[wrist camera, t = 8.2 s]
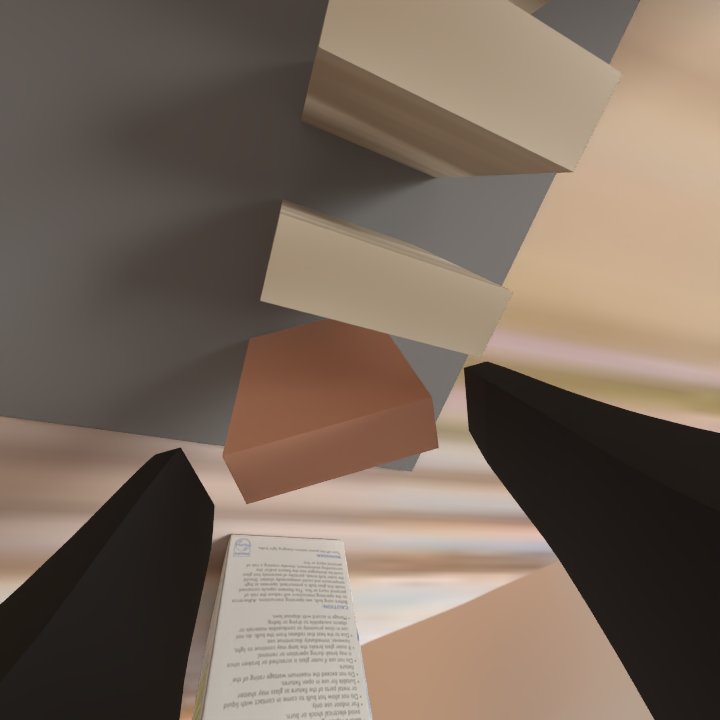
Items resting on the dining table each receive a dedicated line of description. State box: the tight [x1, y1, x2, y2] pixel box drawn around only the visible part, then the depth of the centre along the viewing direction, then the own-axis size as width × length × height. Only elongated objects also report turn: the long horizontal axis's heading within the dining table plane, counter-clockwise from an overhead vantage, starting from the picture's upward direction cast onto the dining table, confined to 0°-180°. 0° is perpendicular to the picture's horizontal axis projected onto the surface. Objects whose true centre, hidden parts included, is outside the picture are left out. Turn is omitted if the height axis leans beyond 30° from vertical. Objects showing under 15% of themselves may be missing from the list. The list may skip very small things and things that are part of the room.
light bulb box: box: [192, 534, 372, 720], centre depth 17 cm, size 11×7×11 cm, turn 163°
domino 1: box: [301, 0, 623, 178], centre depth 9 cm, size 2×5×7 cm, turn 71°
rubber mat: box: [0, 0, 640, 471], centre depth 11 cm, size 18×28×1 cm, turn 161°
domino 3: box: [222, 318, 439, 504], centre depth 12 cm, size 2×5×7 cm, turn 102°
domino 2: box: [260, 199, 513, 358], centre depth 10 cm, size 2×5×7 cm, turn 71°
